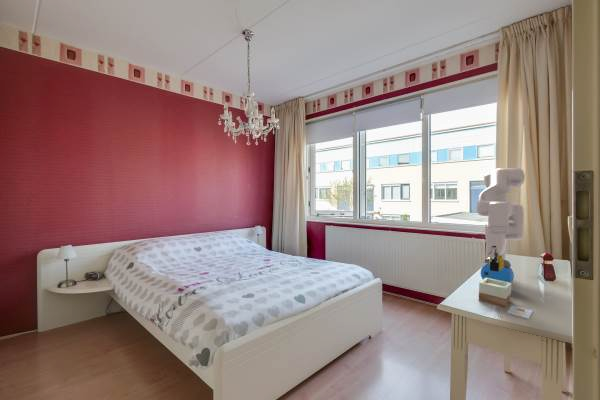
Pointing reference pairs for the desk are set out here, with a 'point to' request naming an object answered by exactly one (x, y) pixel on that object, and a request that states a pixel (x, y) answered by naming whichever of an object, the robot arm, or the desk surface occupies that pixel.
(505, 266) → the alarm clock
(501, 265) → the lemon
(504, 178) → the robot arm
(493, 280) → the top brick
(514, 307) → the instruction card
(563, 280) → the desk surface
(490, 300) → the base brick
